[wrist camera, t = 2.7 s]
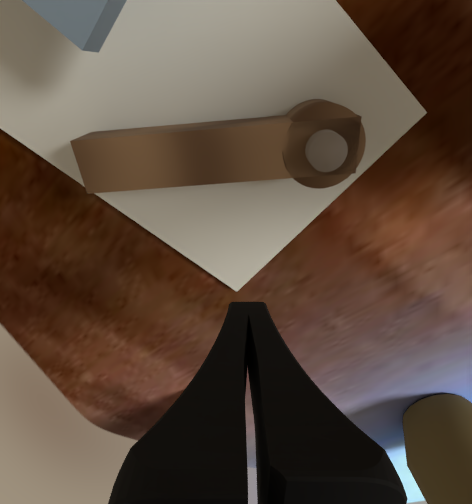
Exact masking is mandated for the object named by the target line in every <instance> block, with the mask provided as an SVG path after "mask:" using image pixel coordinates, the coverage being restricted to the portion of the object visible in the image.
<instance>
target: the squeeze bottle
mask: <svg viewBox="0 0 472 504" xmlns="http://www.w3.org/2000/svg"><path fill="white" fill-rule="evenodd" d="M403 431H404V440H405V450H406V459H407V466H408V468H409V470H410V471H411V473H412V475H413V477H414V479H415V481H416V483H417V485H418V487H419V488H420V490H421V492H422V494H423V496H424V498H425V500H426V502H427V503H428V504H472V403H471V402H470V401H468V400H467V399H465V398H463V397H462V396H459V395H452V394H441V395H433V396H430V397H427V398H424V399H421V400H419V401H418V402H416V403H415V404H413V405H411V406H410V407H409V408H408V409H407V411H406V412H405V413H404V415H403Z"/></svg>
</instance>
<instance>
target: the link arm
mask: <svg viewBox="0 0 472 504" xmlns="http://www.w3.org/2000/svg"><path fill="white" fill-rule="evenodd" d="M361 118H362V116H359V115H357V114H355V113H354V112H353V111H351V110H350V109H348V108H346V107H344V106H342V105H339V104H336V103H333V102H330V101H327V100H324V99H311V100H307V101H304V102H302V103H299V104H298V105H296V106H295V107H293V108H292V109H291V110H290V111H289V112H288V113H287V114H286V115H281V116H269V117H258V118H246V119H234V120H223V121H211V122H200V123H188V124H176V125H165V126H153V127H142V128H130V129H118V130H107V131H95V132H90V133H88V134H86V135H83V136H81V137H78V138H76V139H74V140H71V141H70V143H71V146H72V149H73V152H74V155H75V158H76V161H77V164H78V167H79V170H80V174H81V177H82V180H83V183H84V186H85V189H86V192H87V194H91V193H104V192H117V191H130V190H144V189H157V188H170V187H183V186H196V185H209V184H222V183H235V182H248V181H261V180H274V179H287V178H293V179H294V180H295V181H297V182H298V183H300V184H301V185H304V186H306V187H310V188H316V189H322V188H328V187H332V186H334V185H337V184H339V183H341V182H342V181H344V180H345V179H347V178H348V177H349V176H350V175H351V174H353V173H356V168H357V167H358V165H359V163H360V162H361V159H362V157H363V154H364V151H365V146H366V136H365V130H364V127H363V125H362V123H361Z"/></svg>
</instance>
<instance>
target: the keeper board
mask: <svg viewBox="0 0 472 504" xmlns="http://www.w3.org/2000/svg"><path fill="white" fill-rule="evenodd" d="M311 99H324V100H327V101H330V102H333V103H336V104H339V105H342V106H344V107H346V108H348V109H350V110H351V111H353V112H354V113H355V114H357V115H359V116H362V118H361V123H362V125H363V127H364V130H365V136H366V146H365V151H364V154H363V157H362V159H361V162H360V163H359V165H358V167H357V168H356V173H353V174H351V175H350V176H349V177H348V178H347V179H345V180H344V181H342V182H341V183H339V184H337V185H334V186H332V187H328V188H322V189H316V188H310V187H306V186H304V185H301V184H300V183H298V182H297V181H295V180H294V179H293V178H287V179H274V180H261V181H248V182H235V183H222V184H209V185H196V186H183V187H170V188H157V189H144V190H130V191H117V192H104V193H94V194H96V195H97V196H99V197H100V198H102V199H103V200H105V201H106V202H108V203H109V204H110V205H112V206H113V207H115V208H116V209H118V210H119V211H121V212H122V213H123V214H125V215H126V216H128V217H129V218H131V219H132V220H134V221H135V222H136V223H138V224H139V225H141V226H142V227H144V228H145V229H147V230H148V231H149V232H151V233H152V234H154V235H155V236H157V237H158V238H160V239H161V240H163V241H164V242H165V243H167V244H168V245H170V246H171V247H173V248H174V249H176V250H177V251H178V252H180V253H181V254H183V255H184V256H186V257H187V258H189V259H190V260H191V261H193V262H194V263H196V264H197V265H199V266H200V267H202V268H203V269H204V270H206V271H207V272H209V273H210V274H212V275H213V276H215V277H216V278H218V279H219V280H220V281H222V282H223V283H225V284H226V285H228V286H229V287H231V288H232V289H233V290H235V291H236V292H237V291H238V290H239V289H240V288H241V287H242V286H243V285H245V284H246V283H247V282H248V281H249V280H250V279H251V278H252V277H253V276H254V275H255V274H256V273H257V272H258V271H259V270H260V269H262V268H263V267H264V266H265V265H266V264H267V263H268V262H269V261H270V260H271V259H272V258H273V257H274V256H275V255H276V254H277V253H279V252H280V251H281V250H282V249H283V248H284V247H285V246H286V245H287V244H288V243H289V242H290V241H291V240H292V239H293V238H294V237H296V236H297V235H298V234H299V233H300V232H301V231H302V230H303V229H304V228H305V227H306V226H307V225H308V224H309V223H310V222H311V221H313V220H314V219H315V218H316V217H317V216H318V215H319V214H320V213H321V212H322V211H323V210H324V209H325V208H326V207H327V206H328V205H329V204H331V203H332V202H333V201H334V200H335V199H336V198H337V197H338V196H339V195H340V194H341V193H342V192H343V191H344V190H345V189H346V188H348V187H349V186H350V185H351V184H352V183H353V182H354V181H355V180H356V179H357V178H358V177H359V176H360V175H361V174H362V173H363V172H365V171H366V170H367V169H368V168H369V167H370V166H371V165H372V164H373V163H374V162H375V161H376V160H377V159H378V158H379V157H380V156H382V155H383V154H384V153H385V152H386V151H387V150H388V149H389V148H390V147H391V146H392V145H393V144H394V143H395V142H396V141H397V140H399V139H400V138H401V137H402V136H403V135H404V134H405V133H406V132H407V131H408V130H409V129H410V128H411V127H412V126H413V125H414V124H416V123H417V122H418V121H419V120H420V119H421V118H422V117H423V116H424V115H425V114H426V113H427V112H426V111H425V109H424V108H423V107H422V106H421V104H420V103H419V102H418V101H417V100H416V98H415V97H414V96H413V95H412V93H411V92H410V91H409V90H408V88H407V87H406V86H405V85H404V84H403V82H402V81H401V80H400V79H399V77H398V76H397V75H396V74H395V73H394V71H393V70H392V69H391V68H390V66H389V65H388V64H387V63H386V61H385V60H384V59H383V58H382V57H381V55H380V54H379V53H378V52H377V50H376V49H375V48H374V47H373V45H372V44H371V43H370V42H369V41H368V39H367V38H366V37H365V36H364V34H363V33H362V32H361V31H360V30H359V28H358V27H357V26H356V25H355V23H354V22H353V21H352V20H351V18H350V17H349V16H348V15H347V14H346V12H345V11H344V10H343V9H342V7H341V6H340V5H339V4H338V2H337V1H336V0H0V129H2V130H3V131H5V132H6V133H8V134H9V135H11V136H12V137H13V138H15V139H16V140H18V141H19V142H21V143H22V144H24V145H25V146H26V147H28V148H29V149H31V150H32V151H34V152H35V153H37V154H38V155H39V156H41V157H42V158H44V159H45V160H47V161H48V162H50V163H51V164H53V165H54V166H55V167H57V168H58V169H60V170H61V171H63V172H64V173H66V174H67V175H68V176H70V177H71V178H73V179H74V180H76V181H77V182H79V183H80V184H81V185H83V186H84V183H83V180H82V177H81V174H80V170H79V167H78V164H77V161H76V158H75V155H74V152H73V149H72V146H71V143H70V141H71V140H74V139H76V138H78V137H81V136H83V135H86V134H88V133H90V132H95V131H107V130H118V129H130V128H142V127H153V126H165V125H176V124H188V123H200V122H211V121H223V120H234V119H246V118H258V117H269V116H281V115H286V114H287V113H288V112H289V111H290V110H291V109H292V108H293V107H295V106H296V105H298V104H299V103H302V102H304V101H307V100H311ZM84 187H85V186H84Z"/></svg>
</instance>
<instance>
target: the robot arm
mask: <svg viewBox="0 0 472 504" xmlns="http://www.w3.org/2000/svg"><path fill="white" fill-rule="evenodd" d="M247 365H248V374H249V382H250V390H251V398H252V406H253V414H254V423H255V438H256V466H257V495H258V504H406V502H407V496H406V493H405V490H404V487H403V485H402V482H401V480H400V478H399V476H398V474H397V472H396V470H395V468H394V466H393V464H392V462H391V460H390V459H389V457H388V455H387V453H386V451H385V450H384V449H383V448H382V447H381V446H379V445H378V444H377V443H376V442H375V441H373V440H372V439H371V438H370V437H368V436H367V435H366V434H365V433H364V432H363V431H361V430H360V429H359V428H358V427H357V426H356V425H355V424H354V423H352V422H351V421H350V420H349V419H348V418H347V417H346V416H345V415H344V414H343V413H342V412H341V411H340V410H339V409H338V408H337V407H336V406H335V405H334V404H333V403H332V402H331V401H330V400H329V399H328V398H327V397H326V396H325V395H324V394H323V393H322V391H321V390H320V389H319V388H318V387H317V386H316V385H315V383H314V382H313V381H312V380H311V379H310V377H309V376H308V375H307V374H306V372H305V371H304V370H303V368H302V367H301V366H300V364H299V363H298V362H297V360H296V359H295V357H294V356H293V354H292V353H291V352H290V350H289V348H288V347H287V345H286V344H285V342H284V340H283V339H282V337H281V335H280V334H279V332H278V330H277V328H276V326H275V324H274V322H273V320H272V318H271V316H270V314H269V311H268V309H267V306H266V304H265V303H264V302H231V303H230V304H229V308H228V312H227V315H226V318H225V321H224V324H223V326H222V328H221V331H220V333H219V335H218V337H217V339H216V341H215V343H214V345H213V347H212V349H211V351H210V352H209V354H208V356H207V358H206V359H205V361H204V363H203V364H202V366H201V368H200V369H199V371H198V372H197V374H196V375H195V377H194V378H193V379H192V381H191V382H190V383H189V385H188V386H187V387H186V389H185V390H184V391H183V393H182V394H181V395H180V397H179V398H178V399H177V400H176V401H175V403H174V404H173V405H172V406H171V407H170V408H169V409H168V411H167V412H166V413H165V414H164V415H163V416H162V417H161V418H160V420H159V421H158V422H157V423H156V424H155V425H154V426H153V427H152V428H151V429H150V430H149V431H148V432H147V433H146V434H145V435H144V436H143V437H142V438H141V439H140V440H139V441H138V442H136V443H135V444H134V445H133V446H132V448H131V449H130V451H129V453H128V454H127V456H126V458H125V460H124V463H123V465H122V467H121V469H120V471H119V473H118V476H117V479H116V481H115V483H114V486H113V489H112V493H111V496H110V499H109V503H108V504H248V480H247V479H248V477H247V448H246V420H245V392H246V378H247Z"/></svg>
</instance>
